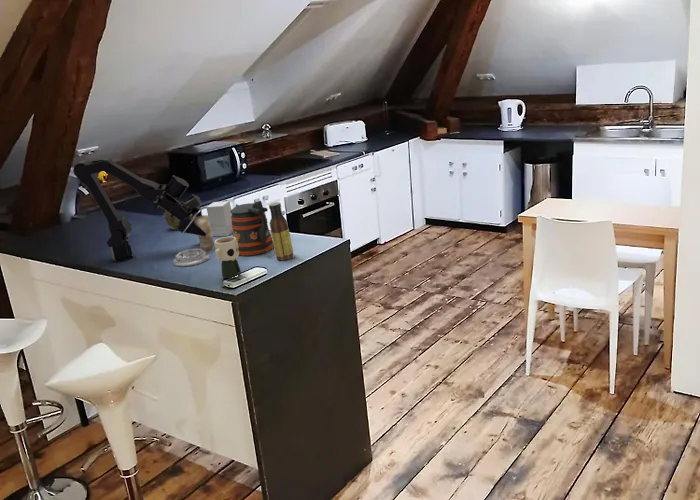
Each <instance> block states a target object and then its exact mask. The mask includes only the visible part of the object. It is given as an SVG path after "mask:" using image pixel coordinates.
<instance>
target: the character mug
mask: <svg viewBox="0 0 700 500" xmlns="http://www.w3.org/2000/svg"><path fill="white" fill-rule="evenodd" d="M214 249H215V251H214V253H215V258H216V260H218V261H221V276H222V278H225V279H233V278H232V277H235V276H237V275H238V276H239V275H240V274H241V275H242V271H241V267H240V264H239V261H238V260H237V259H238V257H239V256H240V255H239V251H238V242H237V240H236V238H235V237H233V236H222V237H219V238H217V239H215V240H214ZM235 278H236V277H235Z"/></svg>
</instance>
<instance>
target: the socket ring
mask: <svg viewBox="0 0 700 500" xmlns="http://www.w3.org/2000/svg"><path fill="white" fill-rule="evenodd" d="M210 258H211V257H210V253H209V252H208V251H205V250H203V249H201V247H200V248H199V247H198V248H189V249H186V250H183V251H179V252H178V253H177V254H175V257H174V259H173V260H172V261H173V262H172V263H173V265H174V266H175V267H179V268H185V267H193V266H198V265H201V264H203V263H205V262H208V261H209V259H210Z"/></svg>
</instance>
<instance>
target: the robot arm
mask: <svg viewBox="0 0 700 500" xmlns="http://www.w3.org/2000/svg"><path fill="white" fill-rule="evenodd" d="M72 171H73V175H74V176H75V177H76V178H77V179H78V181H79V182H80V183H81V184H82V185H84V186H86V188H87V189H88V190H89V192H90V194H91V195H92V198H93V199H94V201H95V202H96V204H97V206H98V207H99V209H100V211H101V212H102V214H103V216H104V218H105V219H106V221H107V226H108V227H107V228H108V231H109V233H110V235H111V236H110V237H109V238H108V240H107V241H106V244H107V246H108V248H110V253H111V260H112V261H113V262H116V263H119V262H124V261H126V260H129V259H132V258H134V255H133V251H132V245H131V244H130V243H129V241H128V239H129V236H130V235H131V234H132V224H131V222H130V221H129V220H128V216H121V215H120V214H119V213H118V212H117V209H116V208H115V206H114V204H113V203H112V201H111V200H110V197H109V196H108V194H107V192H106V190H105V189H104V188H103V185H102V184H101V183H100V179H99V175H98V173H100V172H107V173H108V174H110V175H111V176H113V177H114V178H117V179H118V180H120V181H121V182H123V183H125V184H127V185H128V186H130V187H131V188H132V189H134V190H135V192H137V194H138V195H139V196H141V197H142V199H144V200H146V201H149V202H151V201H153V202H152V206H153V210H154V211H155V210H157V209H158V208H159V207H160V208H161V209H162V210H164V212H166V211H167V212H168V213H169V214H171V215H170V217H173V216H174V217H175V218H176V219H178V220H179V221H180V222H179V223H180V224H179V225H178V227H177V228H178V230H177V231H178V232H180V233H181V234H183V233H184V234H190V235H197V236H198V235H200V236H206V233H205V232H204V231H203V230H202V229H201V228H200V227H199V226H198V225H197V224H196V221H195V218H196V217H198V216H203V213H202V211H203V210H202V209H201V206H200V205H201V204H202V203H203V201H202V200H201V199H200V198H201V197H200V196H198V195H196V194H192V195H189V197H188V198H189V200H187V201H186V202H185V201H179V200H177V199H178V198H181V197H182V196H183V195H184V193H185V192H186V190H187V189H188V188H189V186H190V185H189V183H188V181H186V180H185V179H183V178H181V177H179V176H176V175H172V176H171V177H170V180H169V181H168V183H167V184H159V183H157V182H155V181H152V180H150V179H147V178H143V177H140V176H138V175H137V174H135V173H133V172H132V171H130V170H128V169H127V168H125V167H124V166H122V165H120V164H119V163H117V162H115V161H114V160H113V159H112V158H109V157H105V158H102V159H95V160H89V159H84V160H82V161H79V162H77V163H76V164H75V165H74V167H73V170H72ZM165 192H166V193H165ZM163 194H164V195H163ZM156 199H157V200H156ZM210 227H211V226H210Z"/></svg>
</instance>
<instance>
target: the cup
mask: <svg viewBox="0 0 700 500" xmlns="http://www.w3.org/2000/svg"><path fill="white" fill-rule="evenodd" d="M163 215H164V219H165V220H166V223H167V225H168V226H169V227H170V228H171V230H172V231H178V228H177V227H178V225H179V224H180V223H179V222H180V221H179V220H178V219H176V218H175V217H174V216H173V217H170V215H171V214H169V213H168V212H167V211H164V212H163Z"/></svg>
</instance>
